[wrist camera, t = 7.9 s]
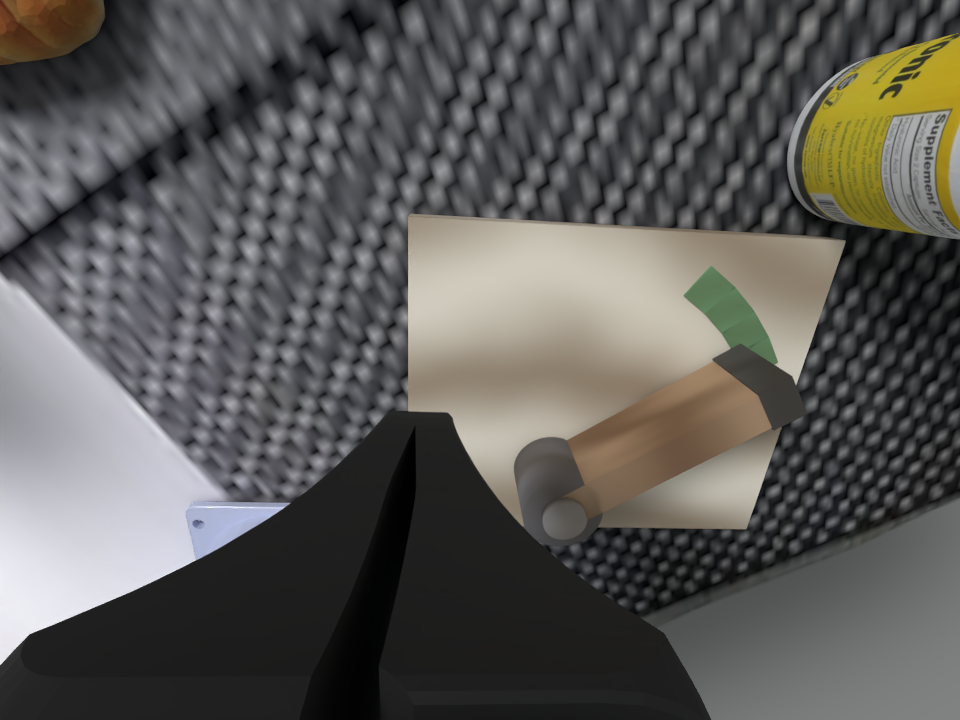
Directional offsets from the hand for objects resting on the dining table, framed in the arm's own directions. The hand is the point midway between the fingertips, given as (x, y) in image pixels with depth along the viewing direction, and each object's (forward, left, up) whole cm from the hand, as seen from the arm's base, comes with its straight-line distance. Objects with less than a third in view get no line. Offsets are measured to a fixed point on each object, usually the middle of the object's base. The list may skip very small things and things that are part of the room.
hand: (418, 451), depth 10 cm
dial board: (-3, -7, -9) cm, 12 cm away
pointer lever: (-4, -8, -8) cm, 12 cm away
